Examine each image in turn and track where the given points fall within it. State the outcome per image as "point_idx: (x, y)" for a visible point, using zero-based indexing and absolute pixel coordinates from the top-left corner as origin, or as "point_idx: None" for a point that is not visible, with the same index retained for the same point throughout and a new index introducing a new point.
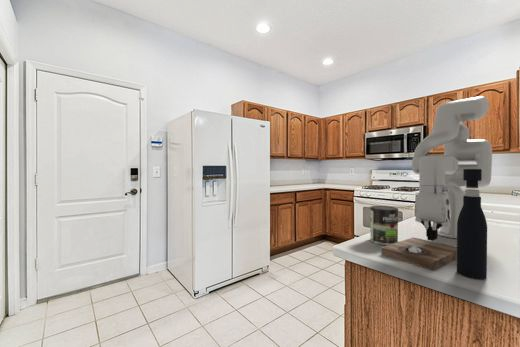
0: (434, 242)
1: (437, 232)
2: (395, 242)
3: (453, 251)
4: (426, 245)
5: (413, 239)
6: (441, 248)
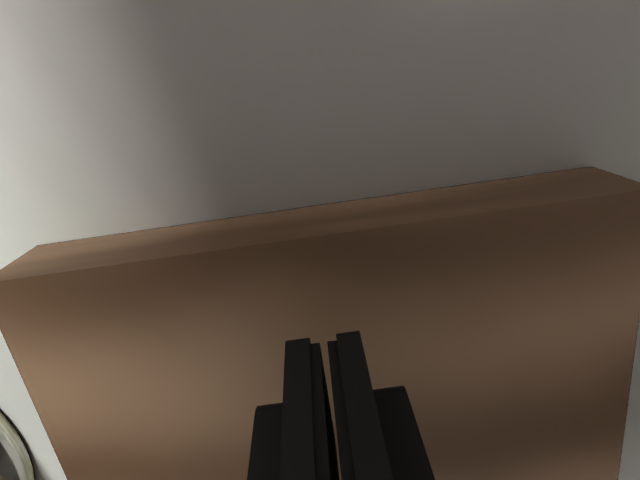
0: (302, 256)
1: (429, 465)
2: (11, 475)
3: (609, 405)
4: (337, 457)
5: (82, 376)
6: (487, 418)
